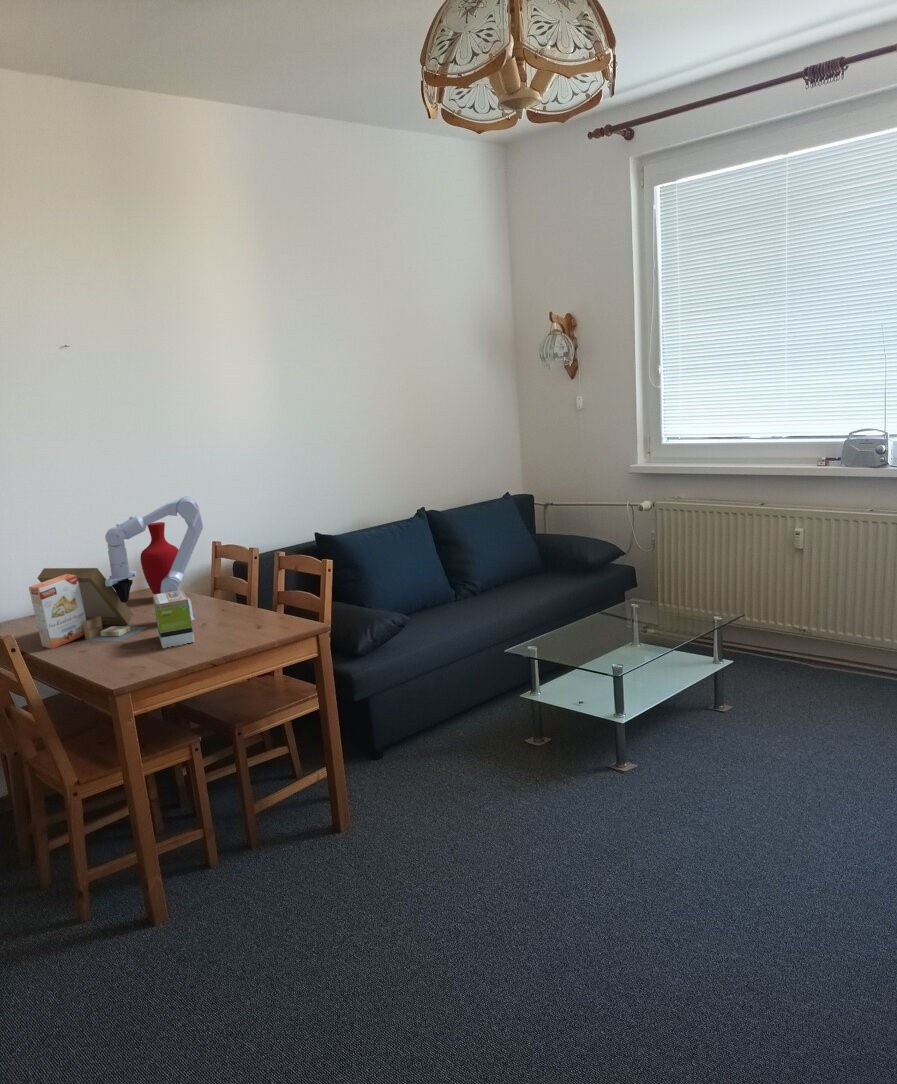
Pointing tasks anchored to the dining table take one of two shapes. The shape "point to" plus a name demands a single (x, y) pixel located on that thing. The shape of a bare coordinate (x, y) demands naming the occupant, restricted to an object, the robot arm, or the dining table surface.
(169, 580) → the robot arm
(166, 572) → the vase
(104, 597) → the photo frame
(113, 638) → the felt mat
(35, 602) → the cracker box
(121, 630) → the tile teal
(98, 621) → the tile plain
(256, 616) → the dining table surface
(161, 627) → the tea box
